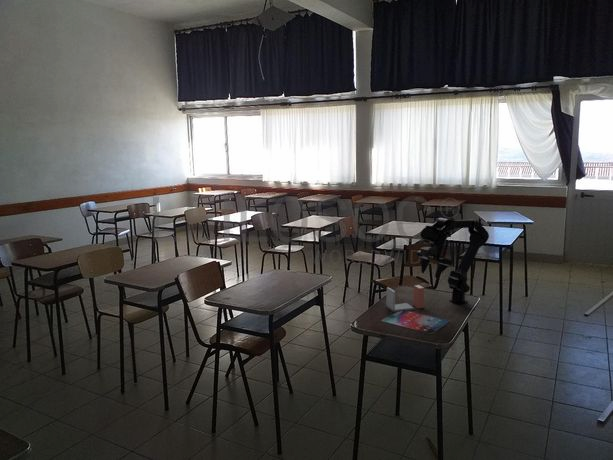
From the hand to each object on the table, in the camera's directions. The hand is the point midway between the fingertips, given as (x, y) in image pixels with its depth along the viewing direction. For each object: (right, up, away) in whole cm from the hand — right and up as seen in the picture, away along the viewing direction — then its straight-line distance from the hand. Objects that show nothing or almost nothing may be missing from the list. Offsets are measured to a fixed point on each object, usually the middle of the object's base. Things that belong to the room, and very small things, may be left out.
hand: (429, 275), depth 226 cm
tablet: (-10, -20, -13) cm, 26 cm away
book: (-4, -16, +6) cm, 17 cm away
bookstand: (-13, -16, +3) cm, 21 cm away
